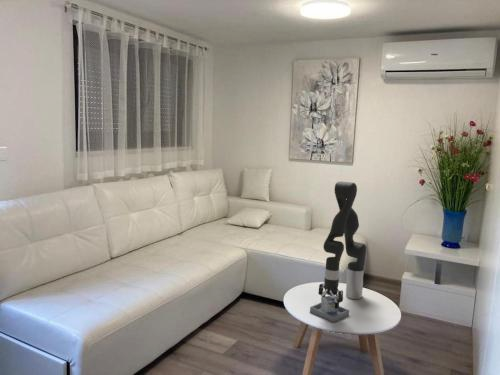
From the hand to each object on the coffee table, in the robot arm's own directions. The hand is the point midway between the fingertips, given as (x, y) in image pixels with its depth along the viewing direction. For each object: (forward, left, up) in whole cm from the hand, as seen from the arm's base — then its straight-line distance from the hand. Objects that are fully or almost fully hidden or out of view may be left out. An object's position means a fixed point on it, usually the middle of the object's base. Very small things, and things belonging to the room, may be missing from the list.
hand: (329, 305), depth 216 cm
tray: (0, 0, -5) cm, 5 cm away
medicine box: (0, 0, -4) cm, 4 cm away
